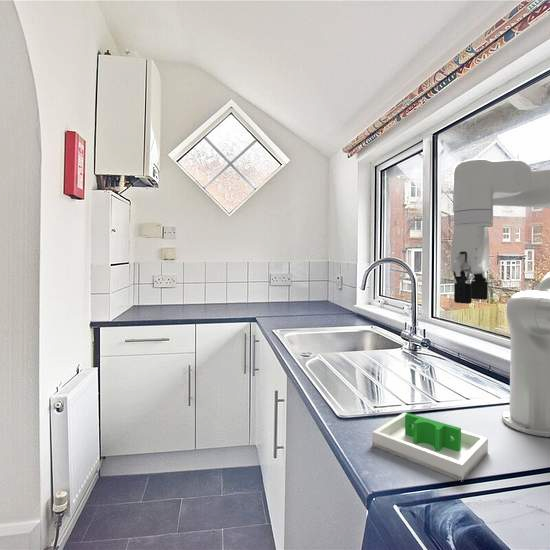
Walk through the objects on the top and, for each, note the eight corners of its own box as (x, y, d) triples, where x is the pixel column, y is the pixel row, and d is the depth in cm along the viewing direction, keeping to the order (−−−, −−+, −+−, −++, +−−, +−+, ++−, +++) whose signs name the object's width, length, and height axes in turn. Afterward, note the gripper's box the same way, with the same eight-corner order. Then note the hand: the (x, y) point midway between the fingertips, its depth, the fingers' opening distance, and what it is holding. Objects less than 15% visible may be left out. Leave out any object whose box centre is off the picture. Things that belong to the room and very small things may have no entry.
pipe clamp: (399, 439, 81) (399, 418, 80) (407, 433, 83) (407, 412, 83) (454, 457, 73) (454, 434, 73) (461, 449, 76) (461, 427, 76)
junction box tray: (404, 424, 89) (404, 412, 89) (487, 452, 76) (487, 438, 76) (372, 445, 79) (372, 431, 79) (461, 481, 66) (462, 465, 66)
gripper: (468, 224, 88) (467, 296, 89) (437, 219, 76) (436, 303, 77) (504, 221, 83) (503, 299, 83) (477, 216, 71) (476, 306, 71)
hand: (471, 301), depth 80 cm, fingers open, 9 cm apart
